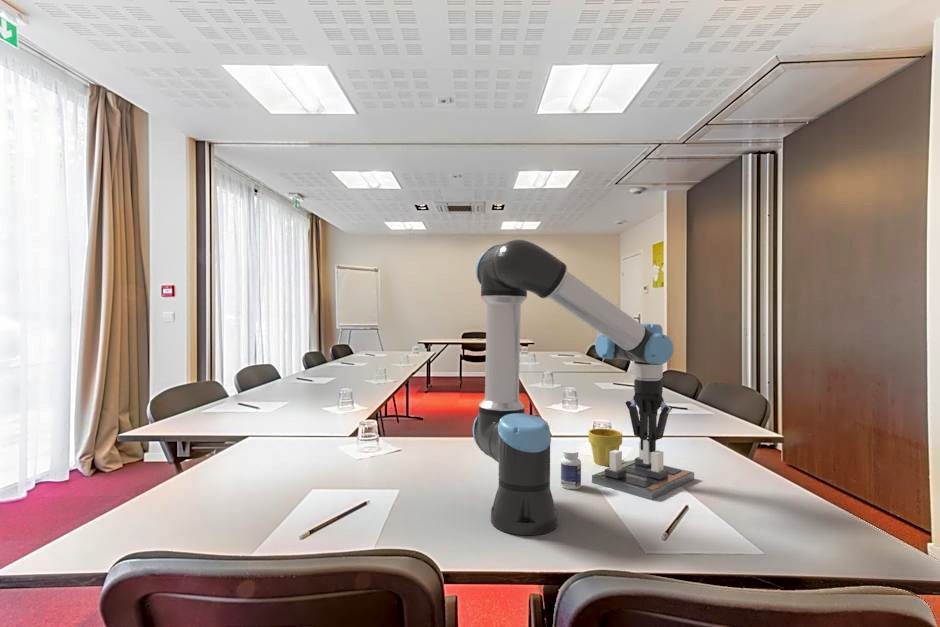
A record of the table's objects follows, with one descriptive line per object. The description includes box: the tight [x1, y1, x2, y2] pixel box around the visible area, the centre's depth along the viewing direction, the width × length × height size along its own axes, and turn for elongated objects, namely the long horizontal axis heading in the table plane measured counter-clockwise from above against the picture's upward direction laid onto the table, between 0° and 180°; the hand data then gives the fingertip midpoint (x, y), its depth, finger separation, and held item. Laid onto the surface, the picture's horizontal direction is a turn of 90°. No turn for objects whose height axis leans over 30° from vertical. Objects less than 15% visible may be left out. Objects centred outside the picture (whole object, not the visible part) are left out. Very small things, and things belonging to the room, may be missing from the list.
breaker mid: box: [647, 449, 668, 479], centre depth 141 cm, size 4×4×7 cm
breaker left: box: [604, 449, 626, 479], centre depth 141 cm, size 4×4×7 cm
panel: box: [591, 459, 695, 501], centre depth 144 cm, size 24×18×2 cm
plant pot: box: [588, 427, 623, 467], centre depth 161 cm, size 10×10×10 cm
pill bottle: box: [560, 448, 582, 490], centre depth 139 cm, size 5×5×10 cm
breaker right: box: [634, 440, 651, 467], centre depth 152 cm, size 4×4×7 cm
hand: (648, 462), depth 143 cm, fingers closed
